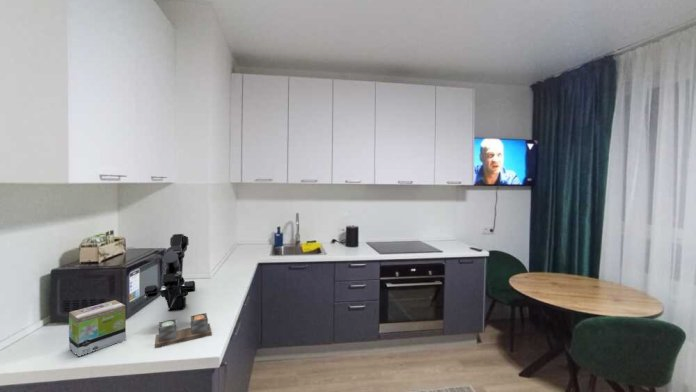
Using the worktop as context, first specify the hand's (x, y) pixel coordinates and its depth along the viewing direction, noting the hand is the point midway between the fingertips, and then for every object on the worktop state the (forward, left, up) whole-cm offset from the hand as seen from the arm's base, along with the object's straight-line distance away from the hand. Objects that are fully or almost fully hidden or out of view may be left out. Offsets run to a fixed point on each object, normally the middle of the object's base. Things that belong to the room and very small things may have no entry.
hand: (169, 307), depth 126 cm
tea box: (-24, -3, -11) cm, 27 cm away
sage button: (+1, -6, -6) cm, 8 cm away
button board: (+6, -4, -11) cm, 14 cm away
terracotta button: (+12, -3, -6) cm, 14 cm away
